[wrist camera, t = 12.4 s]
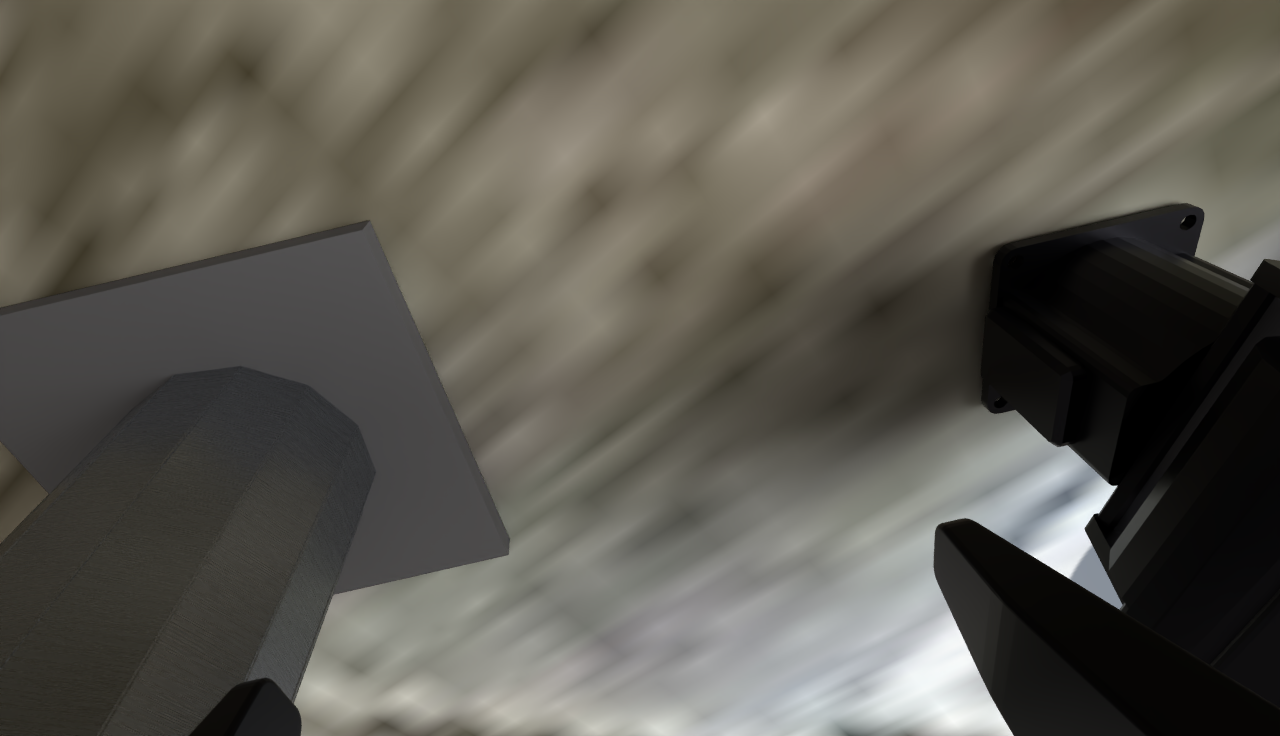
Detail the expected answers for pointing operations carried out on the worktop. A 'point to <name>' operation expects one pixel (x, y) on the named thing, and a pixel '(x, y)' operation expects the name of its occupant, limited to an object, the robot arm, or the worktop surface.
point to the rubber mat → (271, 343)
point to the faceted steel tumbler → (180, 558)
